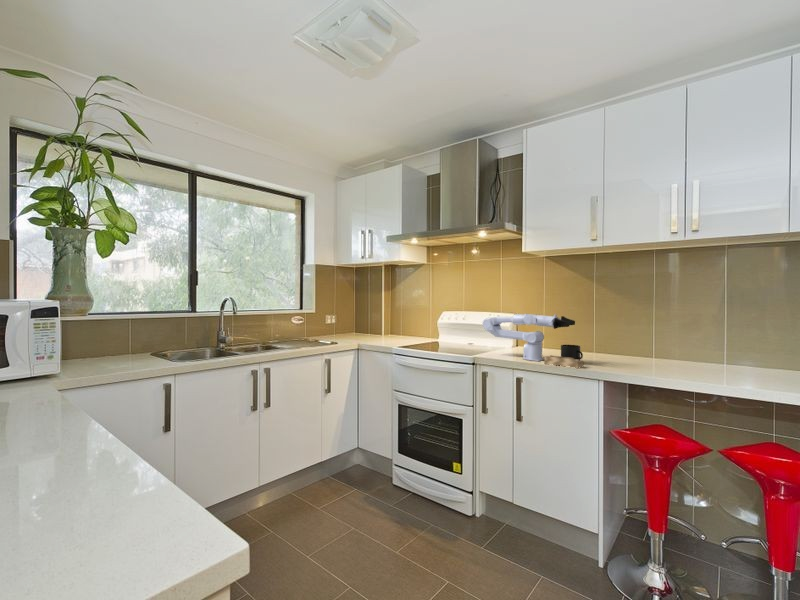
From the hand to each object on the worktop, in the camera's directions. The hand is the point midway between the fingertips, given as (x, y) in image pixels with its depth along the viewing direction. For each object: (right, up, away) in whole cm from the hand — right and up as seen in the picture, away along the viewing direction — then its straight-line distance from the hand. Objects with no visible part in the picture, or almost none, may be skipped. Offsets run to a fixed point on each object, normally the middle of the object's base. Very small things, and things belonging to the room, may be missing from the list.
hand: (572, 323), depth 207 cm
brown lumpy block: (-6, -21, -3) cm, 22 cm away
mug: (+2, -21, +4) cm, 22 cm away
